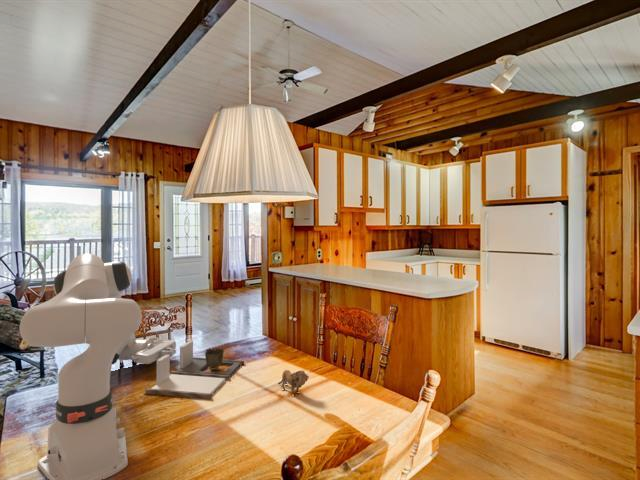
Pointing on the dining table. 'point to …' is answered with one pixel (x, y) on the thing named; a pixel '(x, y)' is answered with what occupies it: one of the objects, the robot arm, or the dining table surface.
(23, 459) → the dining table surface
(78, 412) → the robot arm
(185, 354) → the grey frame with upright
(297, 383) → the lion figurine
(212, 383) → the white platform with upright
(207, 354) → the cup
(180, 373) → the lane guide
